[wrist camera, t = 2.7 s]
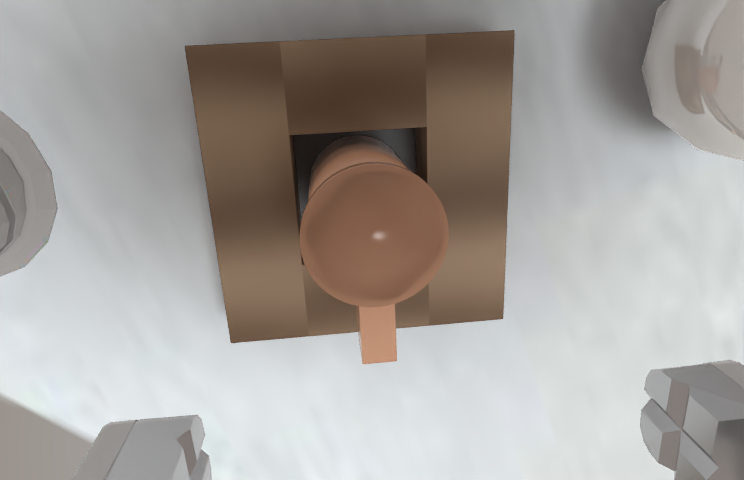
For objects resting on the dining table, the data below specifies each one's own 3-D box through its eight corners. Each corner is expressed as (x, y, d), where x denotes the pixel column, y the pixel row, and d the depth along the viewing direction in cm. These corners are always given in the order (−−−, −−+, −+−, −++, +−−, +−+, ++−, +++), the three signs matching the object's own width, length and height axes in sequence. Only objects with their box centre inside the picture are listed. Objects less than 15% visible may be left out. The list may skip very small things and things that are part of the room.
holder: (200, 47, 24) (184, 45, 22) (493, 33, 25) (514, 30, 23) (239, 315, 29) (230, 343, 26) (485, 294, 30) (503, 318, 27)
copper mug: (301, 134, 26) (292, 170, 18) (407, 128, 27) (449, 159, 18) (314, 284, 29) (312, 377, 20) (411, 276, 29) (448, 364, 21)
